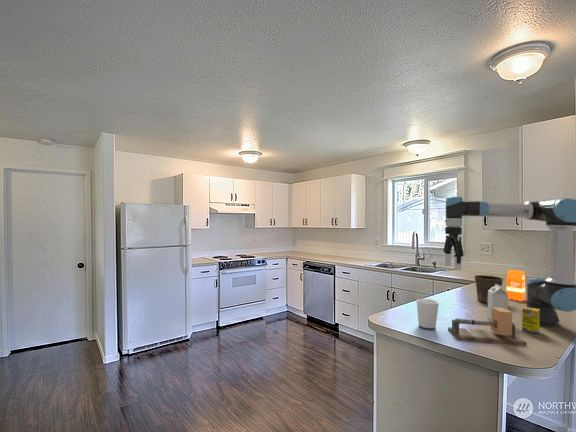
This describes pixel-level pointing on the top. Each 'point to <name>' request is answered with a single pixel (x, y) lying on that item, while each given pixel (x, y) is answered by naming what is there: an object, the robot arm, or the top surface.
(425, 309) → the cup
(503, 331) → the collar
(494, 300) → the milk carton
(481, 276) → the plant pot
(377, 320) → the top surface
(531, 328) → the supplement box
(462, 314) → the top surface
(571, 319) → the top surface
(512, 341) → the pipe stand
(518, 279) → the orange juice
